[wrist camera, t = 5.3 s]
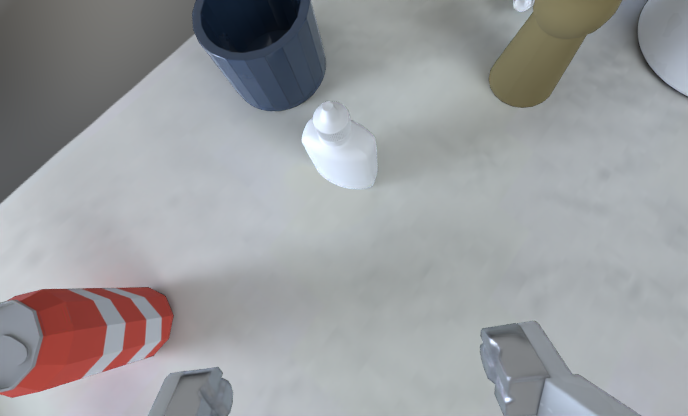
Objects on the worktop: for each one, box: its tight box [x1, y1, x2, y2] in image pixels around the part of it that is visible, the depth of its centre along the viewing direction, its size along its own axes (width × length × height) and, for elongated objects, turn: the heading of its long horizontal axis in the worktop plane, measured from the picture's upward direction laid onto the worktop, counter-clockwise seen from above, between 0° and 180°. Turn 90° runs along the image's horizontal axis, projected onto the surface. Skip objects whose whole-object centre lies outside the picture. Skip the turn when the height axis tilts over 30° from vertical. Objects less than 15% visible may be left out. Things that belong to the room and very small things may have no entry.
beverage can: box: [0, 287, 173, 398], centre depth 24 cm, size 6×6×12 cm
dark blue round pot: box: [192, 0, 326, 111], centre depth 31 cm, size 10×10×8 cm
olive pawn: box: [489, 0, 622, 108], centre depth 26 cm, size 6×6×11 cm
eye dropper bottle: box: [302, 101, 378, 189], centre depth 25 cm, size 4×6×12 cm
